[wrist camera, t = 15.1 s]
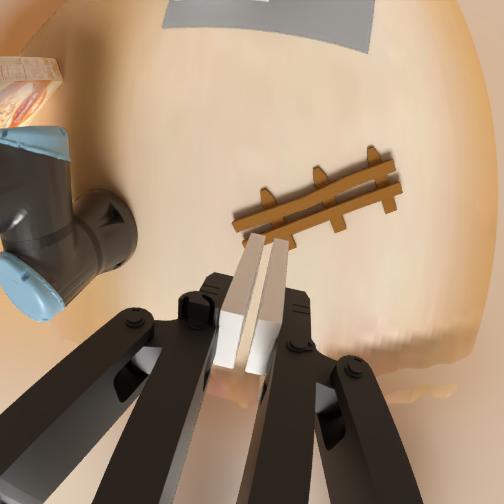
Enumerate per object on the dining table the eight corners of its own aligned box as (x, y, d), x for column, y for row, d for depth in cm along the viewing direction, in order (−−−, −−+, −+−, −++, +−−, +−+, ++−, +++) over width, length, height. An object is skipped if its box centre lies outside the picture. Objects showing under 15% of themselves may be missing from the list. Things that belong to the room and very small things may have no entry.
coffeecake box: (27, 128, 40) (-45, 148, 22) (18, 105, 37) (-51, 119, 20) (65, 81, 35) (-19, 85, 18) (56, 57, 33) (-23, 56, 15)
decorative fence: (402, 204, 38) (382, 142, 35) (407, 208, 36) (387, 143, 33) (255, 260, 46) (227, 205, 43) (253, 265, 44) (224, 208, 41)
